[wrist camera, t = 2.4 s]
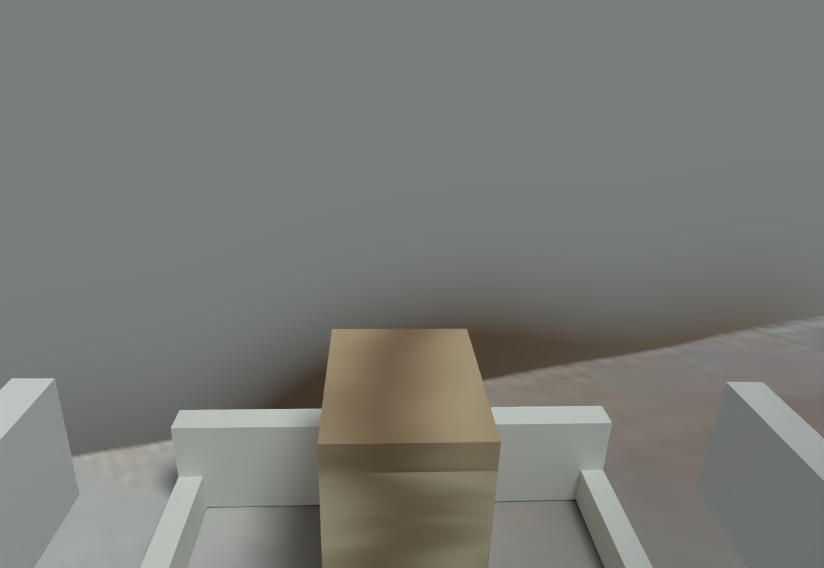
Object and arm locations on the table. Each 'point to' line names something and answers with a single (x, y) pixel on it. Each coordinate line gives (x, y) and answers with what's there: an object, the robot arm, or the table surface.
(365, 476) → the tan cardboard box
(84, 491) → the table surface
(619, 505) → the bay
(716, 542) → the table surface
